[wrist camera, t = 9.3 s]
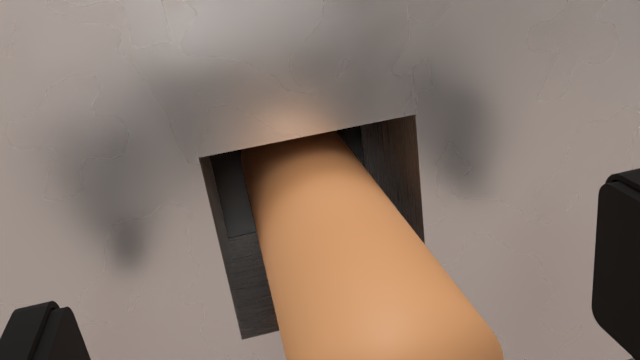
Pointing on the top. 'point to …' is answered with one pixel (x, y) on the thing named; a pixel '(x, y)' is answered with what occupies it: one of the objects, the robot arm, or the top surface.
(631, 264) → the robot arm
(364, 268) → the peg
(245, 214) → the top surface
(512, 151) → the hole block
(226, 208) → the top surface
